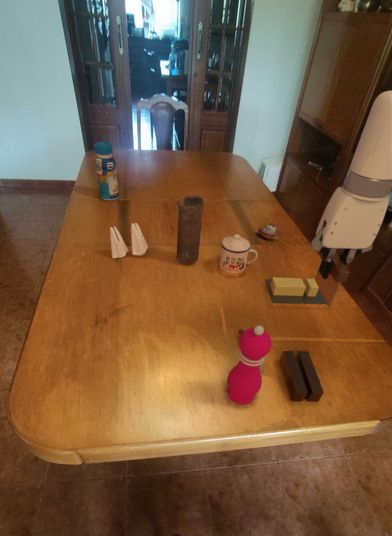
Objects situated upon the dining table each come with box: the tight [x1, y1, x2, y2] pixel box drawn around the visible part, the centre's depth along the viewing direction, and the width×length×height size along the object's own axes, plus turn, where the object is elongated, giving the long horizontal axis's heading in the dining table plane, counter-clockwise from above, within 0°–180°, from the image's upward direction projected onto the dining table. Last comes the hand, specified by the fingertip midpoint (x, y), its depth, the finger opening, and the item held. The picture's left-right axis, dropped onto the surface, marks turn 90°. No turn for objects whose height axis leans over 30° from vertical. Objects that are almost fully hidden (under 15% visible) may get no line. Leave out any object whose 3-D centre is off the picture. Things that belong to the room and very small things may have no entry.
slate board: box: [264, 278, 333, 306], centre depth 96 cm, size 18×12×1 cm, turn 92°
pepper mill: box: [226, 324, 273, 406], centre depth 63 cm, size 7×7×20 cm
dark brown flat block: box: [314, 251, 350, 307], centre depth 68 cm, size 2×10×8 cm, turn 3°
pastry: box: [257, 222, 279, 241], centre depth 120 cm, size 8×8×5 cm
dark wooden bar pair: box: [279, 350, 324, 403], centre depth 72 cm, size 6×12×4 cm, turn 2°
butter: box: [270, 276, 306, 296], centre depth 94 cm, size 9×5×3 cm, turn 92°
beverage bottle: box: [93, 141, 120, 201], centre depth 130 cm, size 8×8×20 cm
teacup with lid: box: [218, 233, 258, 274], centre depth 100 cm, size 12×9×12 cm
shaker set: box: [109, 222, 149, 259], centre depth 102 cm, size 12×4×11 cm, turn 99°
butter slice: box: [304, 278, 319, 296], centre depth 95 cm, size 2×5×3 cm, turn 2°
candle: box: [175, 194, 204, 264], centre depth 99 cm, size 8×7×20 cm
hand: (329, 275), depth 68 cm, fingers closed on dark brown flat block, 2 cm apart
